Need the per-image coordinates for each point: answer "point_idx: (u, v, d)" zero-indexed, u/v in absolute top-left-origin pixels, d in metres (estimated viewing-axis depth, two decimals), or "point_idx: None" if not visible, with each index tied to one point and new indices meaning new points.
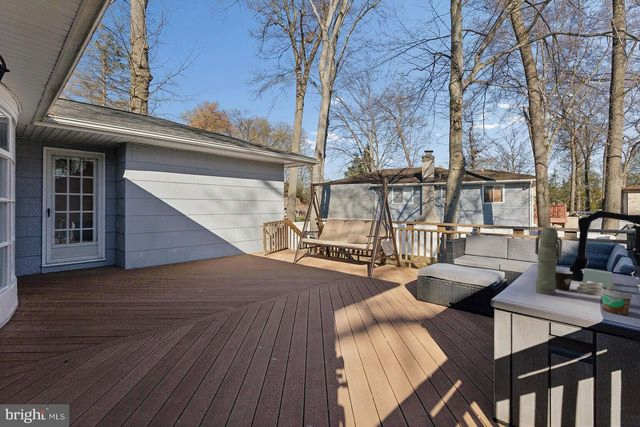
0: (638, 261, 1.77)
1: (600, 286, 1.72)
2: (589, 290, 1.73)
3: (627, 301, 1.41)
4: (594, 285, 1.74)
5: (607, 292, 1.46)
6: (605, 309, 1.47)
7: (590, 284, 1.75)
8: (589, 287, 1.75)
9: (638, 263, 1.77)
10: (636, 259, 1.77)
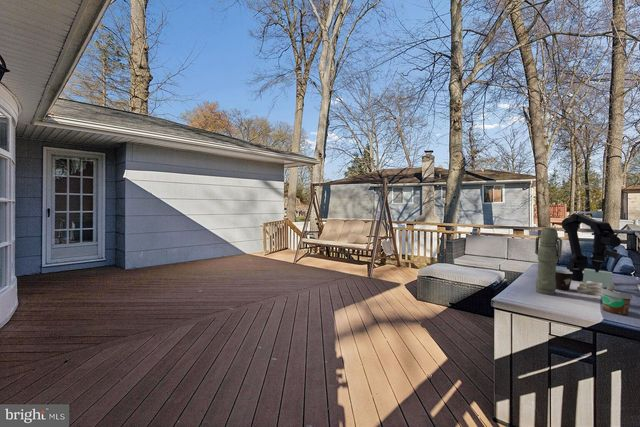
0: (596, 267, 1.80)
1: (599, 285, 1.72)
2: (589, 290, 1.73)
3: (627, 301, 1.41)
4: (594, 285, 1.74)
5: (607, 292, 1.46)
6: (605, 309, 1.47)
7: (590, 284, 1.75)
8: (589, 287, 1.75)
9: (596, 269, 1.80)
10: (594, 265, 1.80)
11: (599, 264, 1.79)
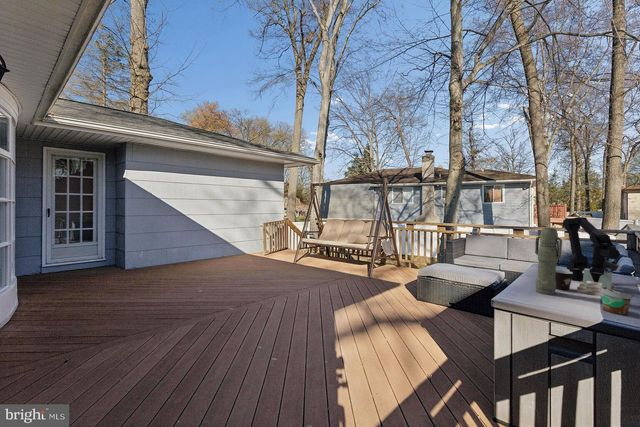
0: (595, 279, 1.80)
1: (599, 285, 1.73)
2: (589, 290, 1.73)
3: (627, 301, 1.41)
4: (593, 285, 1.74)
5: (607, 292, 1.46)
6: (605, 309, 1.47)
7: (589, 284, 1.76)
8: (588, 287, 1.75)
9: (595, 281, 1.81)
10: (593, 277, 1.81)
11: (598, 276, 1.79)
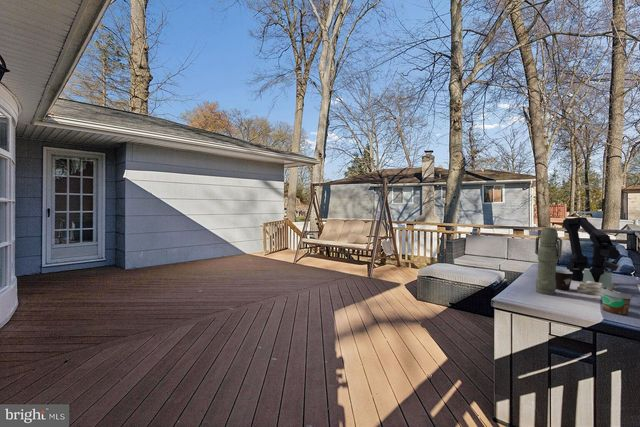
0: (596, 279, 1.82)
1: (599, 285, 1.73)
2: (589, 290, 1.73)
3: (627, 301, 1.41)
4: (593, 285, 1.74)
5: (607, 292, 1.46)
6: (605, 309, 1.47)
7: (589, 284, 1.76)
8: (588, 287, 1.76)
9: (596, 280, 1.82)
10: (594, 277, 1.82)
11: (599, 275, 1.81)
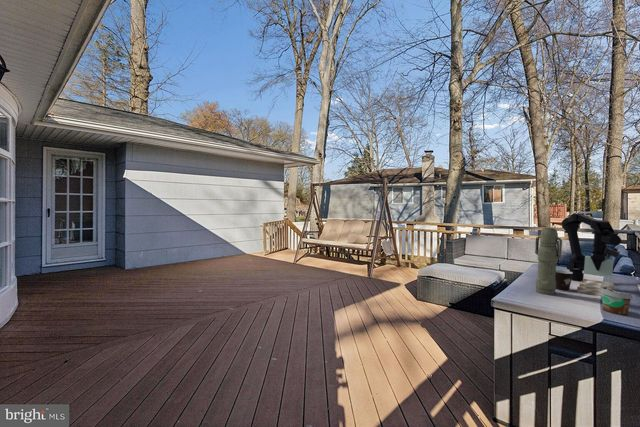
0: (597, 266, 1.81)
1: (599, 285, 1.73)
2: (589, 290, 1.73)
3: (627, 301, 1.41)
4: (593, 285, 1.75)
5: (607, 292, 1.46)
6: (605, 309, 1.47)
7: (589, 284, 1.76)
8: (588, 287, 1.76)
9: (597, 267, 1.82)
10: (595, 264, 1.82)
11: (600, 262, 1.80)
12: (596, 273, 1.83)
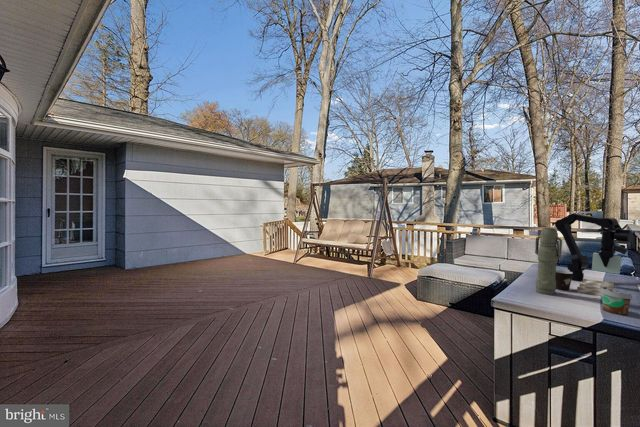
0: (604, 262, 1.84)
1: (598, 285, 1.73)
2: (589, 290, 1.73)
3: (627, 301, 1.41)
4: (593, 285, 1.75)
5: (607, 292, 1.46)
6: (605, 309, 1.47)
7: (589, 284, 1.76)
8: (587, 287, 1.76)
9: (605, 264, 1.85)
10: (603, 260, 1.85)
11: (608, 259, 1.83)
12: (604, 269, 1.85)
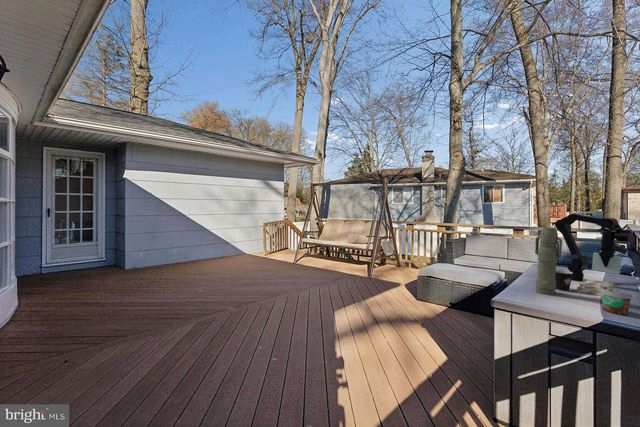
0: (605, 262, 1.84)
1: (598, 285, 1.73)
2: (589, 290, 1.73)
3: (627, 301, 1.41)
4: (592, 285, 1.75)
5: (607, 292, 1.46)
6: (605, 309, 1.47)
7: (588, 283, 1.76)
8: (587, 286, 1.76)
9: (605, 264, 1.85)
10: (603, 260, 1.85)
11: (608, 259, 1.83)
12: (604, 269, 1.85)
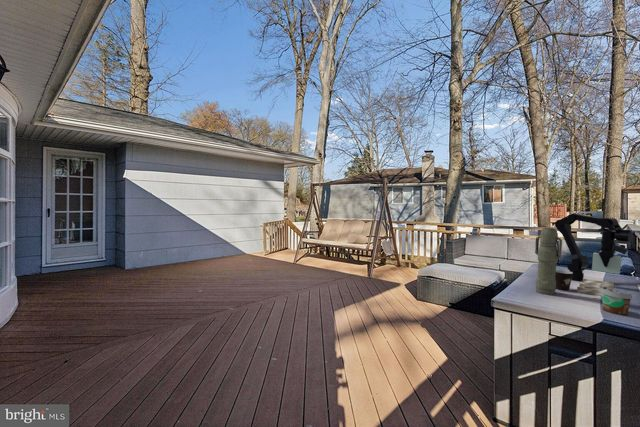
0: (605, 262, 1.84)
1: (598, 285, 1.73)
2: (589, 290, 1.73)
3: (627, 301, 1.41)
4: (592, 285, 1.75)
5: (607, 292, 1.46)
6: (605, 309, 1.47)
7: (588, 283, 1.76)
8: (587, 286, 1.76)
9: (605, 264, 1.85)
10: (603, 260, 1.85)
11: (608, 259, 1.83)
12: (604, 269, 1.85)
